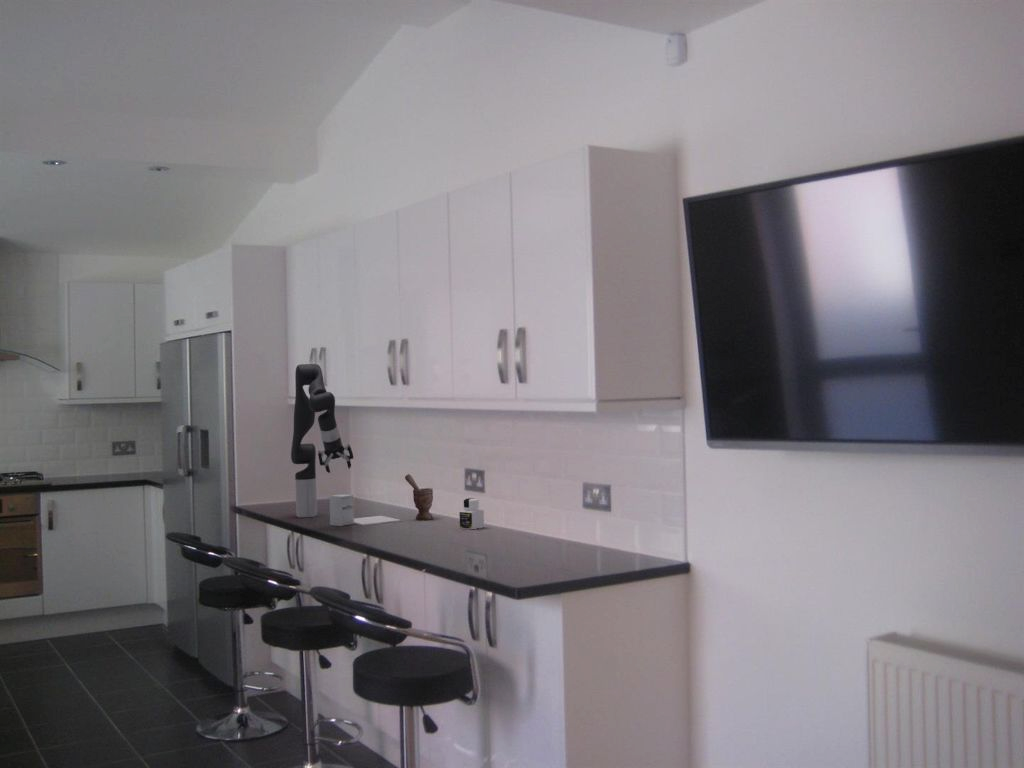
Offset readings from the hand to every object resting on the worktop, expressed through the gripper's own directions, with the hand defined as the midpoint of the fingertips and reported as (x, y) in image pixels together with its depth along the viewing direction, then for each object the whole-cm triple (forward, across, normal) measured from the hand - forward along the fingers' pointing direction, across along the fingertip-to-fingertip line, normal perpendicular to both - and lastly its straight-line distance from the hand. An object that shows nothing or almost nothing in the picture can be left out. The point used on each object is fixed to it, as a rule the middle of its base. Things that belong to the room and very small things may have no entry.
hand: (339, 469), depth 446 cm
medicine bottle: (+19, -49, +38) cm, 65 cm away
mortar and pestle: (+30, -29, +6) cm, 42 cm away
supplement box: (+22, +4, +8) cm, 24 cm away
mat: (+27, -9, +3) cm, 28 cm away
